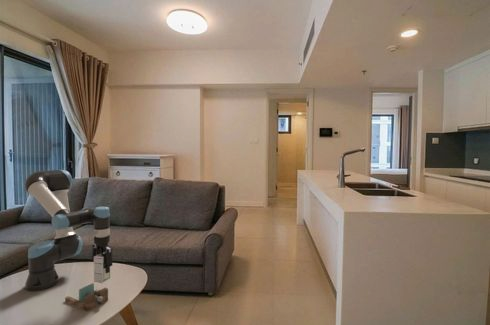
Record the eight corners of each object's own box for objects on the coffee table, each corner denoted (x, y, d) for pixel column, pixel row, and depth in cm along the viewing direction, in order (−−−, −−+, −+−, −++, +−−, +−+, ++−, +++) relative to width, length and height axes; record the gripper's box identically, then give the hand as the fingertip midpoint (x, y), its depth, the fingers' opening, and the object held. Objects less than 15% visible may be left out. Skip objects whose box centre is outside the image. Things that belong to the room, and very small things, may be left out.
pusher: (79, 303, 134) (78, 289, 134) (92, 296, 140) (92, 283, 140) (94, 310, 128) (94, 296, 128) (108, 302, 135) (108, 289, 134)
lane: (65, 301, 136) (64, 289, 136) (86, 291, 146) (86, 280, 146) (86, 311, 128) (86, 299, 128) (108, 299, 138) (107, 288, 137)
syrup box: (102, 283, 145) (103, 257, 144) (93, 281, 146) (93, 255, 145) (110, 278, 150) (110, 253, 149) (101, 276, 152) (101, 251, 151)
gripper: (84, 234, 148) (84, 274, 149) (107, 241, 139) (107, 284, 140) (97, 230, 154) (97, 269, 156) (120, 236, 145) (120, 278, 147)
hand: (102, 276), depth 148 cm, fingers closed on syrup box, 7 cm apart
